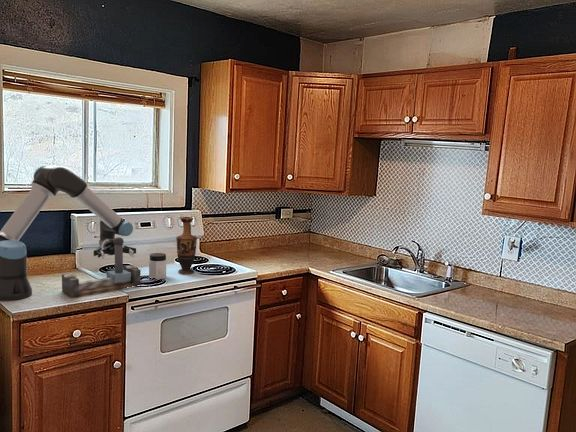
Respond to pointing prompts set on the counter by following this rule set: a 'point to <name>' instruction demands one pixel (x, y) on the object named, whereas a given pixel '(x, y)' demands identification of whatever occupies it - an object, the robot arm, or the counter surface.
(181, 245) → the vase
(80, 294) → the rail
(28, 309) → the counter surface
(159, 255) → the jar
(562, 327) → the counter surface
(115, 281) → the carriage
